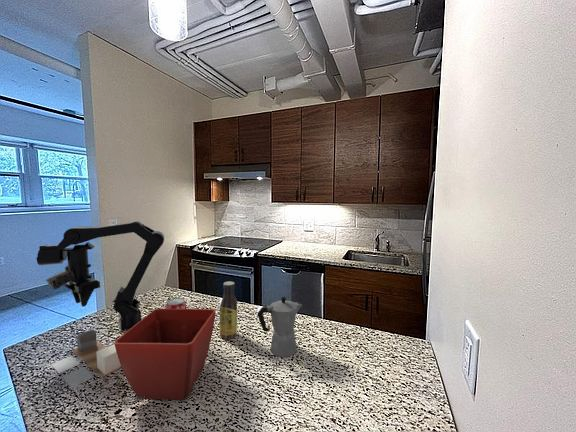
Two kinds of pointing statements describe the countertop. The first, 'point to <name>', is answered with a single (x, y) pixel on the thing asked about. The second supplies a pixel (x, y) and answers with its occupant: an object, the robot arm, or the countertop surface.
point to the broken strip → (75, 376)
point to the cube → (107, 359)
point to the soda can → (176, 303)
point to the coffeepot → (281, 326)
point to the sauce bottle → (228, 312)
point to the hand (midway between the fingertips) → (81, 304)
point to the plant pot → (166, 352)
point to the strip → (90, 350)
